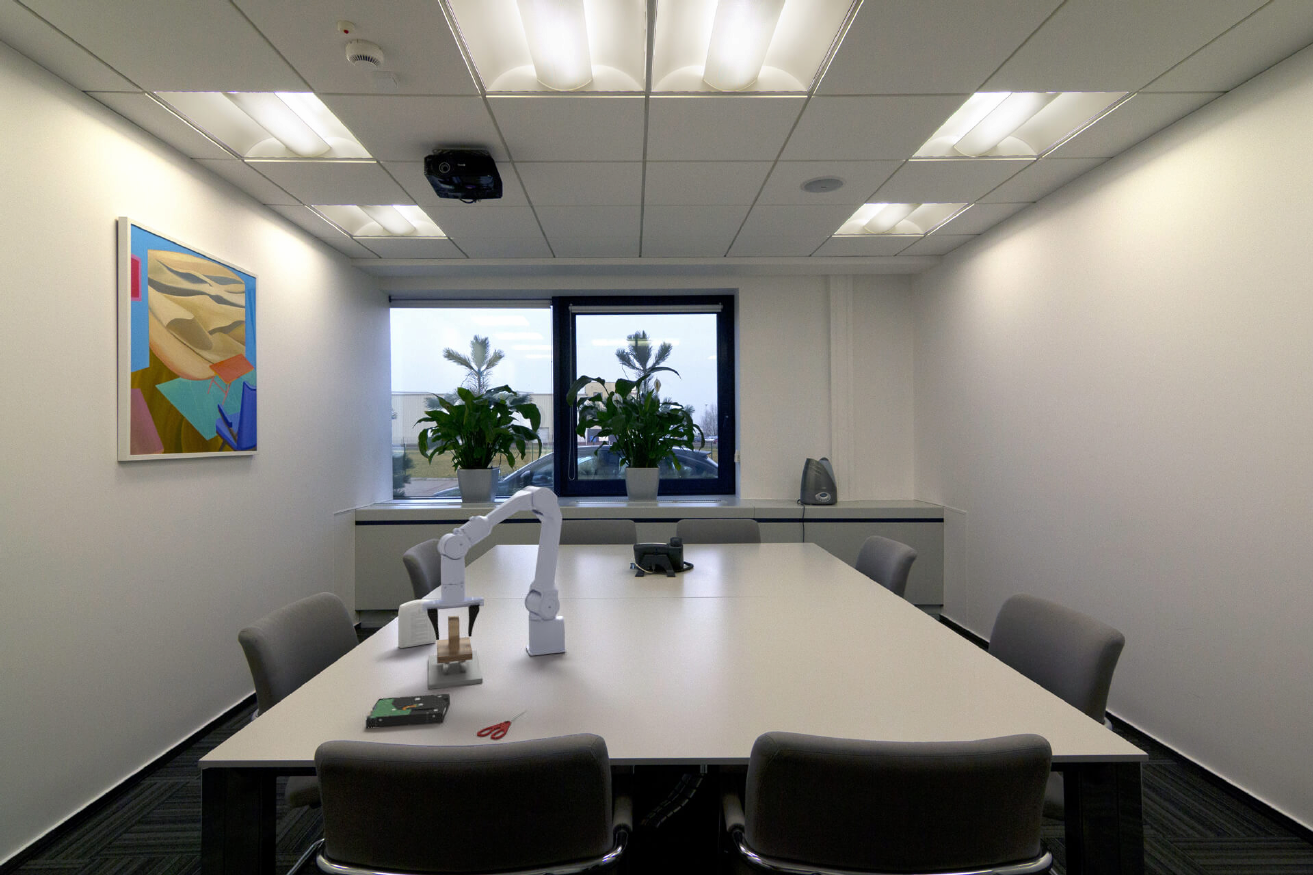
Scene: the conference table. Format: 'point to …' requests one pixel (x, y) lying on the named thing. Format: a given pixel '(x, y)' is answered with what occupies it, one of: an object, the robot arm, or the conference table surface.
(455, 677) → the peg stand
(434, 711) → the disk drive
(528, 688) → the conference table surface
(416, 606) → the white upright slab
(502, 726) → the scissors
